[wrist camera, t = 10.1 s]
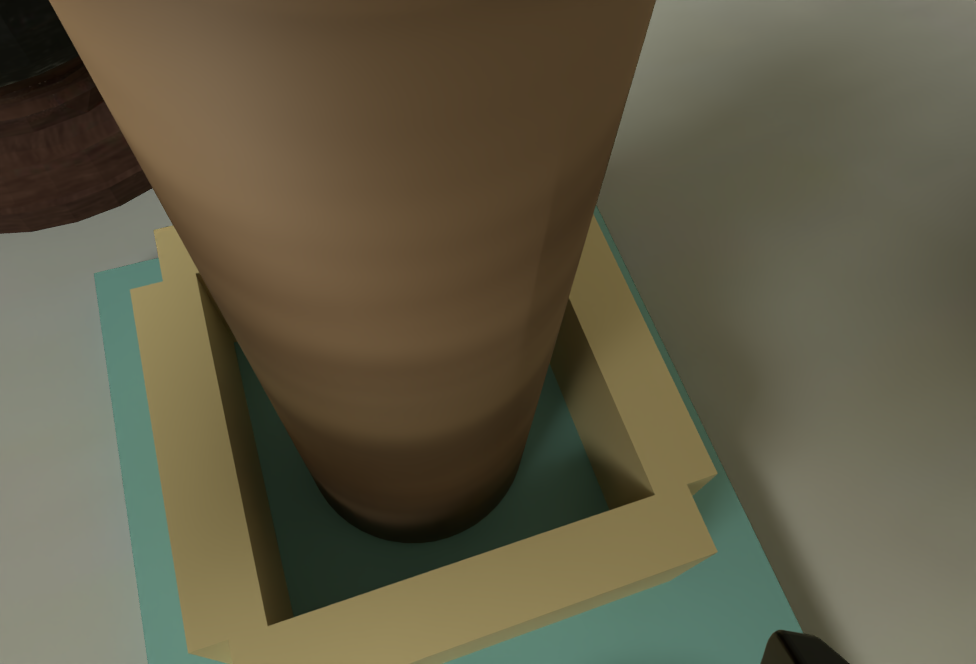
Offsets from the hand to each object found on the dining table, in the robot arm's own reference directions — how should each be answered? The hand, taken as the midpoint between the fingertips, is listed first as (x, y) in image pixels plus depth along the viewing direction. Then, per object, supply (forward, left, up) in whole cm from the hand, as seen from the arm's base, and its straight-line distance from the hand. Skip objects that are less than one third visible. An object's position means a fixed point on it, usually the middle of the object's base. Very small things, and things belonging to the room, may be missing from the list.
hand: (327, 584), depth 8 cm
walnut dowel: (+4, -2, -8) cm, 9 cm away
